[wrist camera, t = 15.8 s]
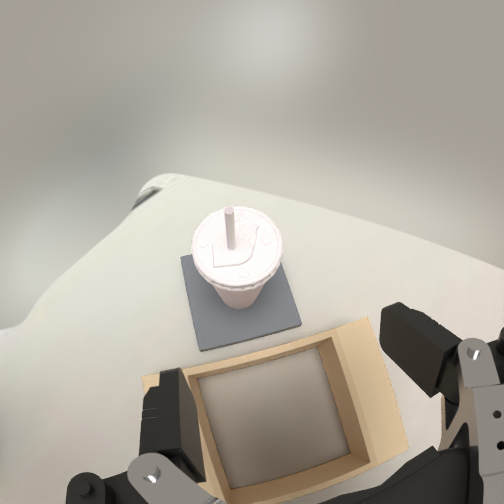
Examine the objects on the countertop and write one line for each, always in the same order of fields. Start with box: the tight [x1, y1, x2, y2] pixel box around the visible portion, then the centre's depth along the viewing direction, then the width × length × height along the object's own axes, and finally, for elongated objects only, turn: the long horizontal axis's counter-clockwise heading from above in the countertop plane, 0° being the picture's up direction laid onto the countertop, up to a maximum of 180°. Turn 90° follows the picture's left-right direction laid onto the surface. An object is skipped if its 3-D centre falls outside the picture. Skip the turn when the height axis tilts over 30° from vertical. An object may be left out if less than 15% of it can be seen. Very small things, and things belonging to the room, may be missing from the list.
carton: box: [141, 316, 409, 504], centre depth 21 cm, size 20×13×5 cm
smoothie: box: [191, 206, 283, 309], centre depth 22 cm, size 6×6×14 cm
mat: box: [181, 254, 302, 352], centre depth 29 cm, size 10×10×1 cm
